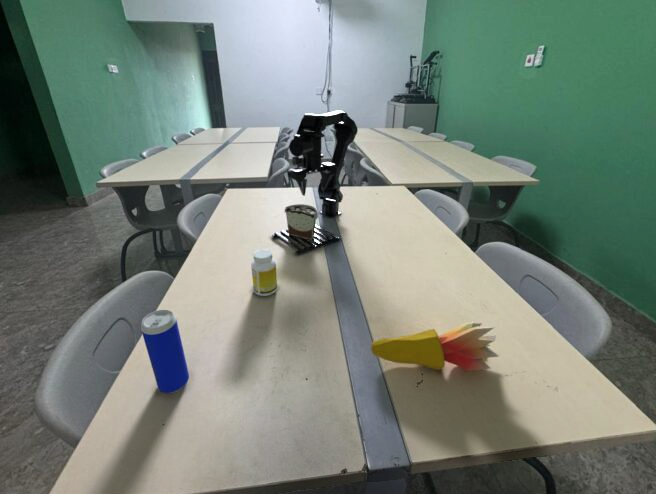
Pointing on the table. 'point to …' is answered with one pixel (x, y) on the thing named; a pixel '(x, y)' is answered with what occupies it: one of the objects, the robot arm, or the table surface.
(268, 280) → the pill bottle
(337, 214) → the robot arm
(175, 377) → the beverage can
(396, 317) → the table surface
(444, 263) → the table surface
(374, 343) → the torch
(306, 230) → the food container
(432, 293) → the table surface
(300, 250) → the drying rack
